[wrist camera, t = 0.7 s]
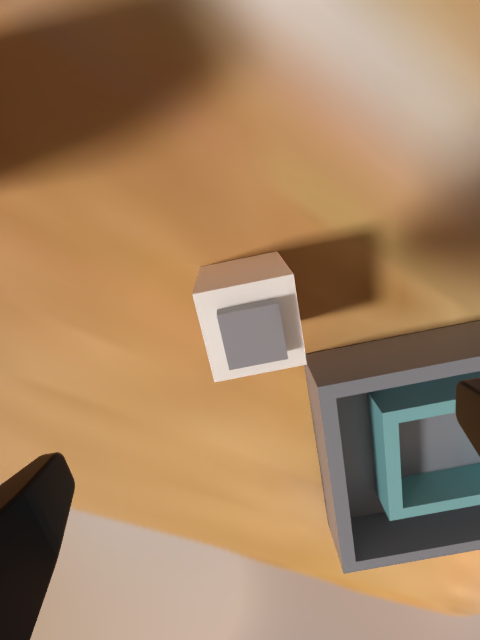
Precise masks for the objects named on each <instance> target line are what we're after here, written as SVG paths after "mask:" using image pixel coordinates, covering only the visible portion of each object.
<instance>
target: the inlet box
mask: <svg viewBox="0 0 480 640" xmlns="http://www.w3.org/2000/svg"><path fill="white" fill-rule="evenodd" d="M305 355H306V362H307V365H305V372H306V379H307V385H308V392H309V399H310V405H311V412H312V418H313V425H314V432H315V438H316V445H317V452H318V458H319V465H320V472H321V478H322V485H323V492H324V498H325V505H326V511H327V518H328V524H329V527H330V531H331V534H332V537H333V540H334V544H335V547H336V550H337V553H338V557H339V560H340V563H341V567H342V570H343V573H344V574H345V573H350V572H356V571H361V570H367V569H373V568H378V567H384V566H390V565H395V564H401V563H407V562H412V561H418V560H424V559H429V558H435V557H441V556H446V555H452V554H458V553H463V552H469V551H474V550H480V457H479V455H478V454H477V452H476V450H475V449H474V447H473V446H472V444H471V442H470V441H469V439H468V438H467V436H466V434H465V433H464V431H463V429H462V428H461V426H460V425H459V423H458V421H457V418H456V412H455V408H456V385H457V383H458V382H459V381H461V380H467V379H472V378H480V320H479V321H474V322H469V323H464V324H459V325H454V326H449V327H443V328H438V329H433V330H428V331H423V332H418V333H413V334H407V335H402V336H397V337H392V338H387V339H382V340H377V341H371V342H366V343H361V344H356V345H351V346H346V347H341V348H335V349H330V350H325V351H320V352H315V353H310V354H305Z"/></svg>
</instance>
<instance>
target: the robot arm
mask: <svg viewBox="0 0 480 640" xmlns="http://www.w3.org/2000/svg"><path fill="white" fill-rule="evenodd" d="M455 412H456V418H457V421H458V423H459V425H460V426H461V428H462V429H463V431H464V433H465V434H466V436H467V438H468V439H469V441H470V442H471V444H472V446H473V447H474V449H475V450H476V452H477V454H478V455H479V457H480V378H472V379H467V380H461V381H459V382H458V383H457V385H456V408H455ZM74 489H75V482H74V478H73V476H72V474H71V472H70V469H69V467H68V465H67V463H66V460H65V458H64V456H63V455H62V454H61V453H58V452H56V453H50V454H45V455H41V456H39V457H38V458H37V459H35V460H34V461H33V462H31V463H30V464H28V465H27V466H26V467H24V468H23V469H22V470H20V471H19V472H18V473H16V474H15V475H14V476H12V477H11V478H9V479H8V480H7V481H5V482H4V483H3V484H1V485H0V640H30V638H31V635H32V632H33V629H34V626H35V623H36V621H37V618H38V615H39V612H40V609H41V606H42V603H43V600H44V597H45V594H46V592H47V588H48V586H49V583H50V580H51V577H52V574H53V571H54V568H55V565H56V562H57V558H58V555H59V551H60V548H61V544H62V540H63V536H64V531H65V527H66V523H67V519H68V515H69V511H70V507H71V502H72V498H73V494H74Z"/></svg>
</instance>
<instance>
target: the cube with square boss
mask: <svg viewBox="0 0 480 640" xmlns="http://www.w3.org/2000/svg"><path fill="white" fill-rule="evenodd" d="M192 295H193V299H194V303H195V307H196V311H197V315H198V318H199V322H200V326H201V330H202V334H203V338H204V342H205V346H206V350H207V354H208V358H209V362H210V366H211V370H212V374H213V378H214V382H219V381H224V380H229V379H234V378H239V377H245V376H250V375H255V374H260V373H265V372H271V371H276V370H281V369H286V368H291V367H297V366H302V365H307V362H306V355H305V348H304V341H303V335H302V328H301V321H300V314H299V307H298V301H297V294H296V287H295V280H294V274H293V273H292V271H291V270H290V268H289V267H288V266H287V264H286V263H285V261H284V260H283V259H282V257H281V256H280V255H279V253H278V252H277V251H276V252H271V253H266V254H261V255H257V256H252V257H247V258H242V259H237V260H232V261H227V262H222V263H217V264H212V265H207V266H202V267H200V268H199V271H198V275H197V279H196V283H195V286H194V290H193V294H192Z"/></svg>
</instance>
